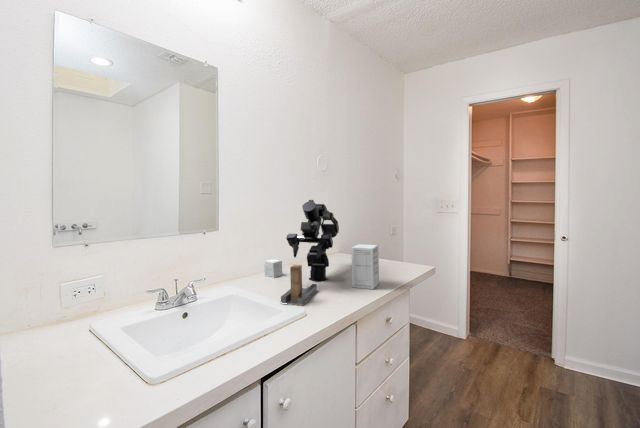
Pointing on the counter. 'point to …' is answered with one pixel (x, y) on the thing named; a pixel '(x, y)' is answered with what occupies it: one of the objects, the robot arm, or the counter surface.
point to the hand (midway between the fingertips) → (305, 257)
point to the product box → (273, 268)
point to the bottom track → (302, 298)
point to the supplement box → (365, 266)
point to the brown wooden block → (296, 281)
